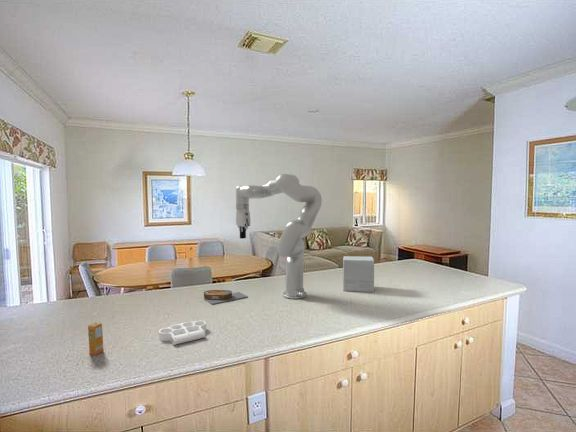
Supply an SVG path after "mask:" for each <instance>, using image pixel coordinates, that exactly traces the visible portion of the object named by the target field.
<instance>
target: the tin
mask: <svg viewBox="0 0 576 432" xmlns="http://www.w3.org/2000/svg"><path fill="white" fill-rule="evenodd" d="M232 293H233V291H232V290H228V289H227V290H226V289H224V290H223V289H210V290H209V289H208V290H206V291H203V299H204V300H205V299H229V298H231V297H232Z"/></svg>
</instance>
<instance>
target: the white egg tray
mask: <svg viewBox="0 0 576 432" xmlns="http://www.w3.org/2000/svg"><path fill="white" fill-rule="evenodd" d="M206 332H207V321H205V320H195V321H185V322H181V323H175V324H172V325H170V326H168V327H162V328H160V329H159V331H158V341H161V342H170V343H171V345H173V346H176V345H179V344H183V343H184V344H185V343H188V342H192V341H196V340H199V339H204V338H206Z"/></svg>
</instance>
